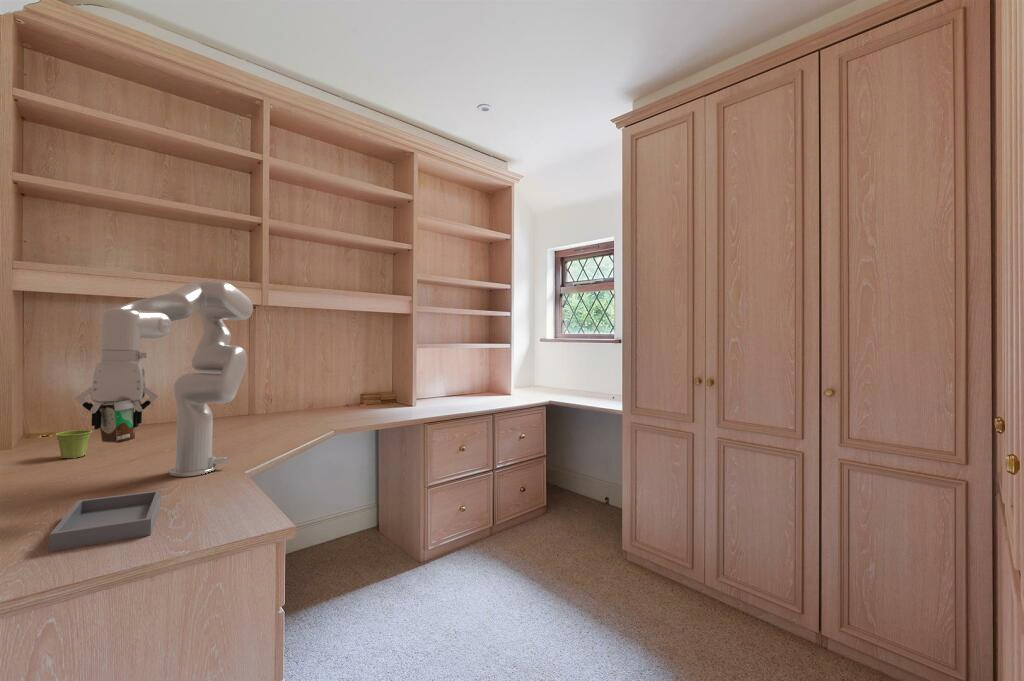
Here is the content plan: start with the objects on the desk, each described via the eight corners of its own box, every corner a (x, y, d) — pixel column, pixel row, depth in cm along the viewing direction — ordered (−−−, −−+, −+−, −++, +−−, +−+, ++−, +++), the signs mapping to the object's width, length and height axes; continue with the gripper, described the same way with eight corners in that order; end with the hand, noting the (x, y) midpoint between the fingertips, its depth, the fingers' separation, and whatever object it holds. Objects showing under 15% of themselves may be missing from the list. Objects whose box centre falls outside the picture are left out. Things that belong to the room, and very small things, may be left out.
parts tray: (160, 503, 119) (161, 490, 119) (150, 535, 100) (151, 519, 100) (77, 515, 110) (77, 500, 110) (49, 551, 92) (49, 534, 92)
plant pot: (51, 457, 159) (52, 432, 159) (87, 452, 167) (88, 428, 167) (58, 462, 154) (59, 436, 154) (95, 456, 162) (95, 432, 162)
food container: (149, 436, 117) (144, 398, 116) (119, 443, 111) (114, 402, 111) (128, 435, 123) (124, 399, 123) (99, 441, 118) (94, 403, 117)
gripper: (164, 357, 124) (161, 423, 124) (78, 356, 115) (75, 427, 115) (161, 358, 118) (158, 427, 117) (69, 357, 109) (65, 432, 108)
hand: (117, 427), depth 116 cm, fingers closed on food container, 6 cm apart
